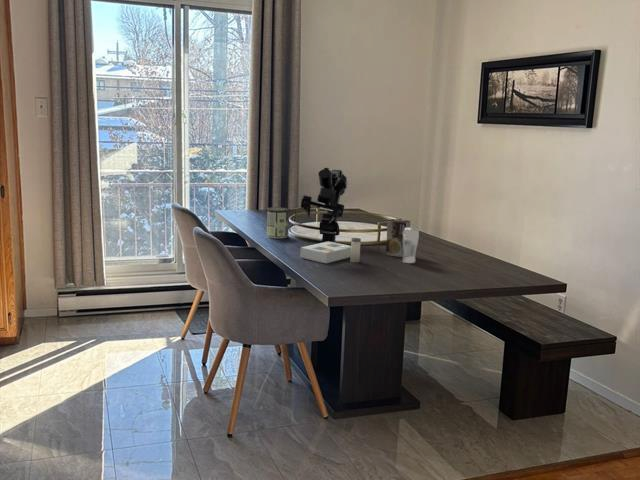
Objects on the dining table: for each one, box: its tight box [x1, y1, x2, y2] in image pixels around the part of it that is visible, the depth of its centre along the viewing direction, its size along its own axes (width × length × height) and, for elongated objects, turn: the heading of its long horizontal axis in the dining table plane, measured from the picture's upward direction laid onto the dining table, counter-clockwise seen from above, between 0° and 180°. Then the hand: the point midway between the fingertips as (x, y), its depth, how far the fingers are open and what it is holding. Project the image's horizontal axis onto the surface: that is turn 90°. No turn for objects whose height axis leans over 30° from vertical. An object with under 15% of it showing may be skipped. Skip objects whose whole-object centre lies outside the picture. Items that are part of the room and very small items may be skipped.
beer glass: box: [401, 226, 420, 265], centre depth 287 cm, size 7×7×15 cm
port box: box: [299, 241, 351, 264], centre depth 291 cm, size 20×14×5 cm
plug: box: [349, 237, 362, 263], centre depth 285 cm, size 4×4×10 cm
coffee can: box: [266, 206, 289, 239], centre depth 328 cm, size 10×10×14 cm
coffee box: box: [385, 218, 411, 258], centre depth 300 cm, size 9×6×16 cm
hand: (318, 220), depth 283 cm, fingers open, 9 cm apart
